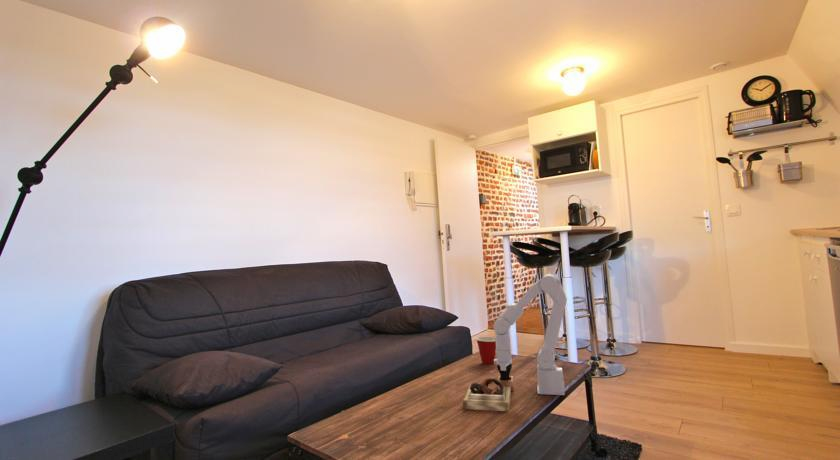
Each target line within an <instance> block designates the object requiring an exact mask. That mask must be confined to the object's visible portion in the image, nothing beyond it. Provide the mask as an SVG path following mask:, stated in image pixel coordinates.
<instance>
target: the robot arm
mask: <svg viewBox="0 0 840 460" xmlns="http://www.w3.org/2000/svg"><path fill="white" fill-rule="evenodd" d="M544 293H545V294H547V295H548V296H549V297H550V299H551V301H552V302H553V303H552V307H551V311H550V314H549V318H548V324H547V326H546V332H545V335H544V339H543V344H542V346H541V347H540V349H539V350H538V354H537V356H536V371H537V372H536V373H537V386H536V387H537V389H536V390H537V394H538V395H548V396H549V395H553V396H565V395H566V394H565V389H566V387H565V381H564V372H563V368H562V367H559V366H557V365H556V363H555V359H556V352H555V350H556V345H557V341H558V338H559V334H560V333H559V332H560V329H561V324H562V321H563V317H564V313H565V310H566V305H567V301H568V300H567V295H566V292H565V291H564V288H563V285H562V283H561V281H560V280H559V278H558V277H557V276H556V275H554V274H553V273H546V274H544V275H543V276H542V277H541V278H540V279H538V280H537V281H536V282H535V283H533V284H532V285H531V286H530V288H529V289H528V290H527V291H526V292H525V293H524V294H523V295H522V296H521V298H520V299H519V300H518V302H515V303H511V304H508V305H507V306H506V309H505V311H503V312H502V313H500V314H499V315H498V317H499V318H497V319H496V320H495V322H494V323H493V330H494V332H495V337H494V338H495V340H496V353H495V356H496V358H495V359H494V363H497V366H496V369H497V370H498V372H499V374H500V375H499V376H501V379H502V380H509V376H511V375H510V373H511V371H512V369H513V367H512V366H513V364H512V363H513V360H512V349H511V347H512V346H511V336H510V328H511V326H514V324H515V323H516V322H517V321H518V320H519V319H520V318H521V316H523V314H524V308H525V307H526V306H527V305H528V304H529V303H530V302H531V301H532V300H533V299H534V298H535V297H536V296H539V295H541V294H544Z"/></svg>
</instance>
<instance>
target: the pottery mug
mask: <svg viewBox="0 0 840 460" xmlns="http://www.w3.org/2000/svg"><path fill="white" fill-rule="evenodd" d="M492 383H494V384H495V385H496V386H497V385H498V386H500V390H497V391H493V389H492V388H489V385H490V384H492ZM470 385H471V386H470ZM470 385H469V386H470V390H471V392H472V393H473V394H487V395H503V386H502V384H501V383H500V382H499V381H498V380H497V379H495V378H492V377H490V378H484V380H483V381H482V382H481V383H477V382H473V383H472V384H470ZM492 392H493V393H492Z"/></svg>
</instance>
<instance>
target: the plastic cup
mask: <svg viewBox="0 0 840 460" xmlns="http://www.w3.org/2000/svg"><path fill="white" fill-rule="evenodd" d="M475 340H476V342H477V346H478V351H479V356H480V360H481V362H482V363H481V364H483V365H487V366H488V365H494V364H495V362H494V359H496V340H495V337H494V336H477V337H475Z"/></svg>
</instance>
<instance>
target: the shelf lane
mask: <svg viewBox="0 0 840 460" xmlns="http://www.w3.org/2000/svg"><path fill="white" fill-rule="evenodd" d="M471 385H472V384H470V385H469V387H468V389H467V391H466V394H465V397H464V398H463V400H462V401H463V403H462V405H463V409H464V410H476V411H478V410H479V411H480V410H481V411H498V412H510V411H509V410H510V404H511V403H510V402H511V396H512V395H511V394H512V393H511V388H510V387H507V391H506V398H505V401H500V400H480V399H468V394H473V393H472V392H471V390H470V386H471Z"/></svg>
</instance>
